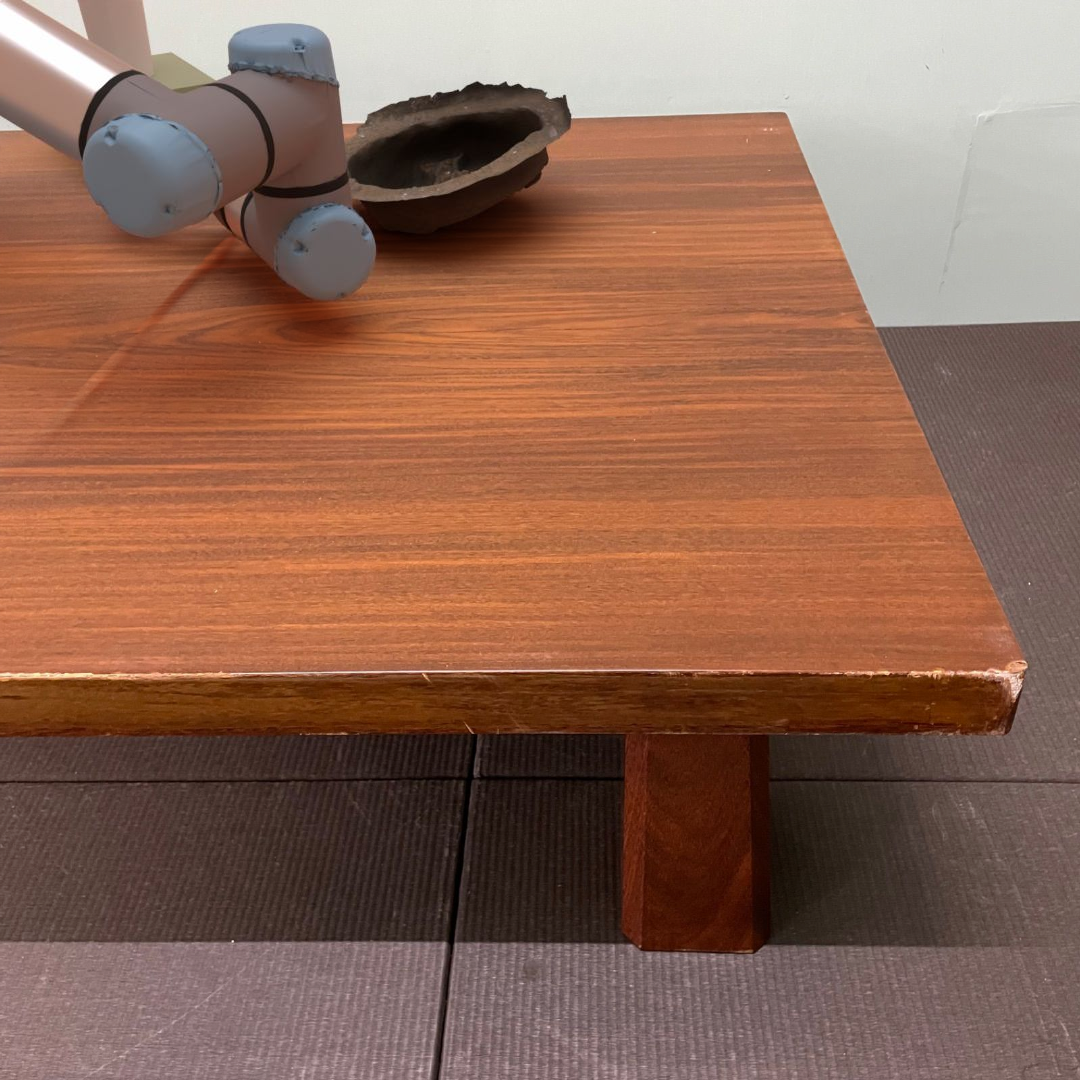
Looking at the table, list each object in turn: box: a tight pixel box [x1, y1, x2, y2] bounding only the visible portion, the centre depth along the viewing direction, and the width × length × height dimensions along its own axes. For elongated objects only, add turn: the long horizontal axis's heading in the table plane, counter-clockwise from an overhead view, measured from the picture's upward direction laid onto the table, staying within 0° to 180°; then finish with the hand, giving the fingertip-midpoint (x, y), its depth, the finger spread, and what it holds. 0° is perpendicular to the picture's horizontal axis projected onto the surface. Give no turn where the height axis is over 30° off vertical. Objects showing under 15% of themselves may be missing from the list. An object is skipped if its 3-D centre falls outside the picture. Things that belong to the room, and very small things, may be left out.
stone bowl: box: [344, 80, 572, 235], centre depth 112 cm, size 25×25×9 cm
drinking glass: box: [77, 0, 154, 77], centre depth 122 cm, size 7×7×10 cm
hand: (186, 141), depth 115 cm, fingers open, 13 cm apart
